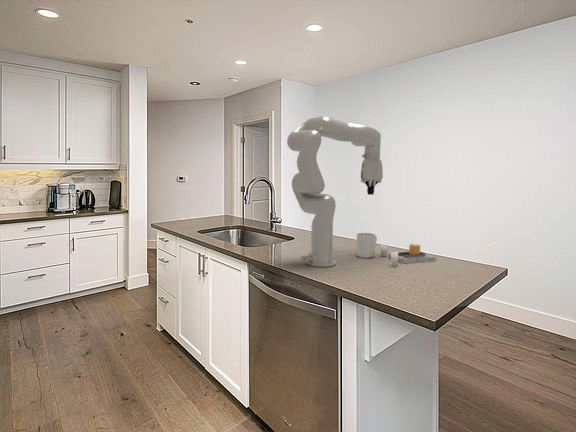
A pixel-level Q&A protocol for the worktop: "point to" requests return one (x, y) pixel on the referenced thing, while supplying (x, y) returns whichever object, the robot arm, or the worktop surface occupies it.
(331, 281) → the worktop surface
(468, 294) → the worktop surface
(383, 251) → the post far
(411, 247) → the toggle
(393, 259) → the post near
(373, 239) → the mug
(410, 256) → the panel
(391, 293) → the worktop surface
